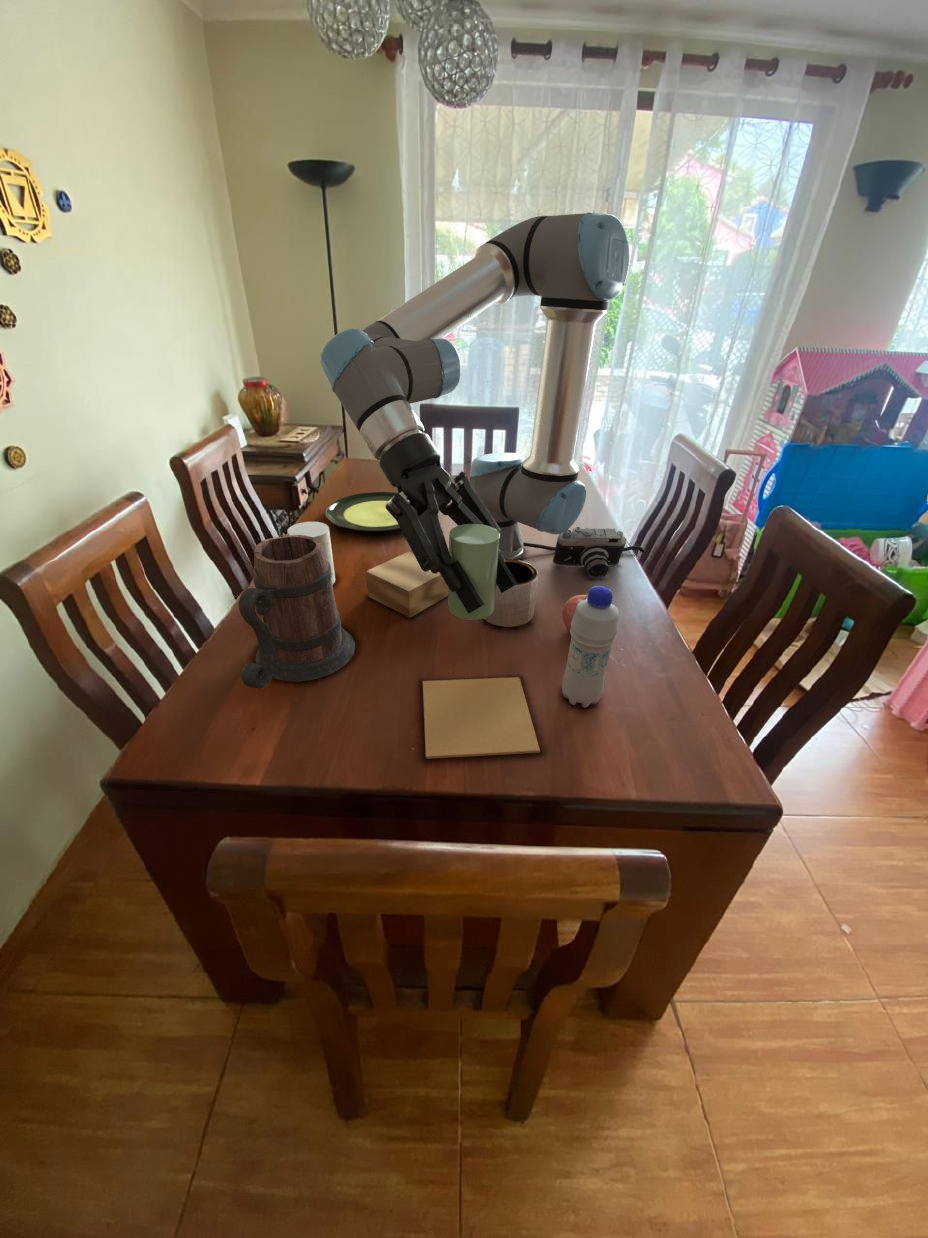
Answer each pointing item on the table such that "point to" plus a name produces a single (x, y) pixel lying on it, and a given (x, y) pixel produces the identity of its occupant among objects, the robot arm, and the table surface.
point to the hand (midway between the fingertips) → (493, 598)
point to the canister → (475, 566)
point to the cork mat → (477, 718)
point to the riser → (405, 585)
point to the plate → (363, 512)
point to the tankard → (293, 613)
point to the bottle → (590, 647)
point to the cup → (319, 533)
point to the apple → (571, 609)
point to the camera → (590, 549)
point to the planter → (516, 597)
